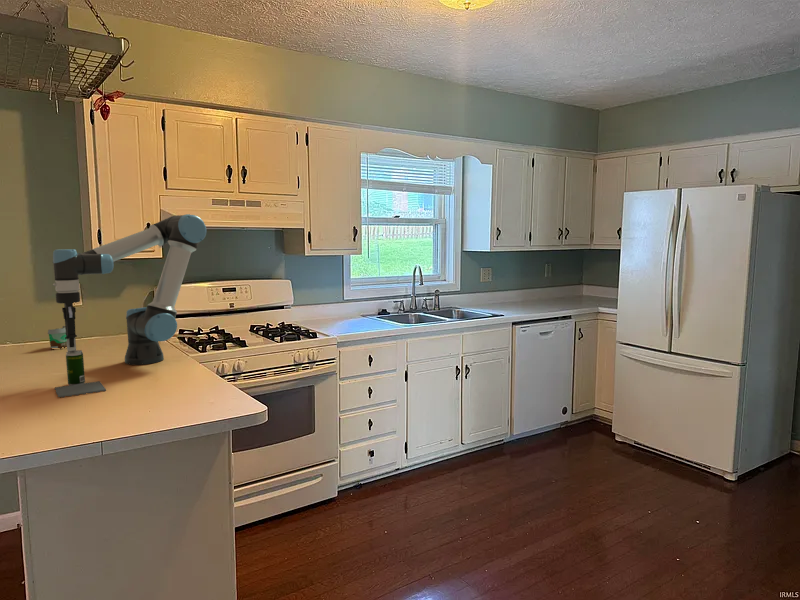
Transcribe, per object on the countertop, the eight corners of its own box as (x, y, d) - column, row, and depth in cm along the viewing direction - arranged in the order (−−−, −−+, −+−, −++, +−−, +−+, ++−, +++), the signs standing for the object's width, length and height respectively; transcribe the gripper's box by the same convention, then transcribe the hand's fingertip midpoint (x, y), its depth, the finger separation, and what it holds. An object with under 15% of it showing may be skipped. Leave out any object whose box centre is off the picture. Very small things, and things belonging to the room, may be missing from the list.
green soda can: (88, 382, 204) (85, 350, 203) (79, 386, 199) (77, 353, 197) (73, 382, 204) (71, 350, 203) (64, 386, 199) (62, 353, 197)
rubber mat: (54, 389, 195) (54, 387, 195) (99, 382, 203) (99, 381, 203) (58, 398, 184) (58, 396, 184) (105, 391, 192) (105, 389, 192)
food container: (61, 350, 264) (60, 329, 263) (49, 350, 264) (47, 329, 263) (77, 345, 276) (75, 325, 275) (65, 345, 276) (63, 325, 275)
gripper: (54, 291, 206) (58, 353, 209) (56, 293, 195) (61, 359, 198) (77, 289, 210) (81, 351, 213) (81, 292, 200) (86, 357, 202)
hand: (72, 355), depth 205 cm, fingers closed
